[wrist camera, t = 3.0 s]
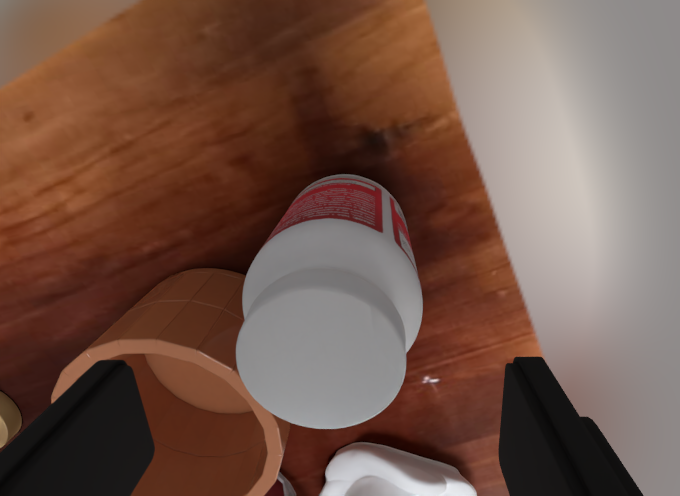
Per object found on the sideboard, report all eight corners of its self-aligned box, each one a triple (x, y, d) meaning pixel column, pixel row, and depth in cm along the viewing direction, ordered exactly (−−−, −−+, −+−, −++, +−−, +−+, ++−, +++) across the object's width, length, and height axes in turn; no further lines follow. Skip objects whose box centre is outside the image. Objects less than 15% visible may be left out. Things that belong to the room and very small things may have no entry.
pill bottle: (264, 234, 22) (164, 367, 12) (339, 145, 20) (299, 208, 10) (352, 305, 23) (333, 483, 13) (432, 227, 21) (486, 363, 11)
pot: (116, 270, 23) (16, 341, 17) (297, 264, 22) (264, 338, 16) (158, 414, 27) (89, 518, 21) (314, 415, 26) (294, 525, 20)
